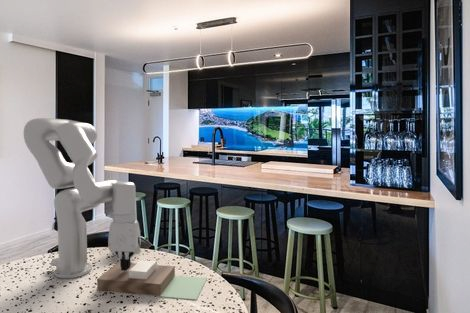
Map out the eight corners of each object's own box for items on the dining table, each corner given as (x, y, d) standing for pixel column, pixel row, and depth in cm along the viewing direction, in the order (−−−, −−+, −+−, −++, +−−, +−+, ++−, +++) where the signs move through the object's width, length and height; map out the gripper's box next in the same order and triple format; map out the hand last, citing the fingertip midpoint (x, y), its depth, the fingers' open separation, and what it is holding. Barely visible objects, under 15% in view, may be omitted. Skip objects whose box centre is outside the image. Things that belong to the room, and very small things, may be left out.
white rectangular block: (129, 277, 106) (129, 270, 106) (140, 266, 115) (140, 260, 114) (146, 279, 105) (146, 272, 105) (156, 268, 114) (156, 261, 114)
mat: (160, 297, 101) (160, 296, 101) (175, 276, 116) (175, 275, 116) (196, 300, 100) (196, 299, 100) (206, 278, 115) (206, 278, 115)
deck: (97, 290, 105) (97, 279, 105) (118, 272, 119) (118, 262, 118) (160, 296, 102) (160, 284, 102) (174, 277, 116) (174, 266, 115)
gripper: (98, 219, 107) (99, 272, 108) (140, 221, 105) (141, 275, 106) (110, 214, 114) (111, 263, 115) (149, 215, 112) (150, 266, 113)
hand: (125, 269), depth 111 cm, fingers closed
